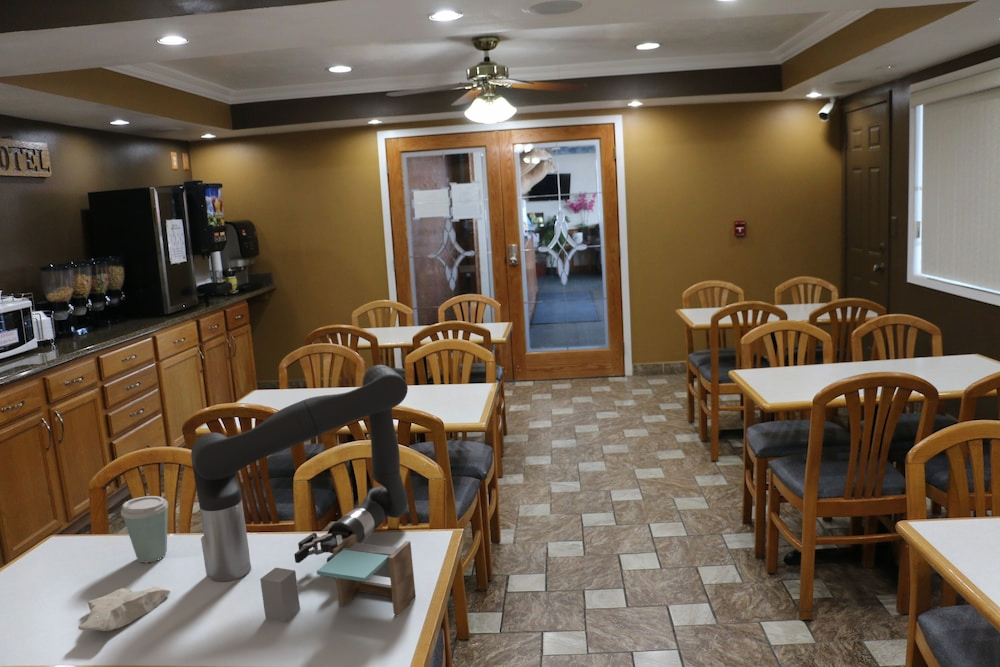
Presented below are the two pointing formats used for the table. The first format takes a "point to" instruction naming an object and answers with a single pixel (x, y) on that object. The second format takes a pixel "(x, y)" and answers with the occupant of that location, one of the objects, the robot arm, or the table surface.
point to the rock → (121, 608)
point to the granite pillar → (280, 594)
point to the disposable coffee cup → (147, 526)
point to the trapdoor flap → (358, 563)
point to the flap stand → (399, 588)
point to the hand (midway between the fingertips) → (312, 561)
